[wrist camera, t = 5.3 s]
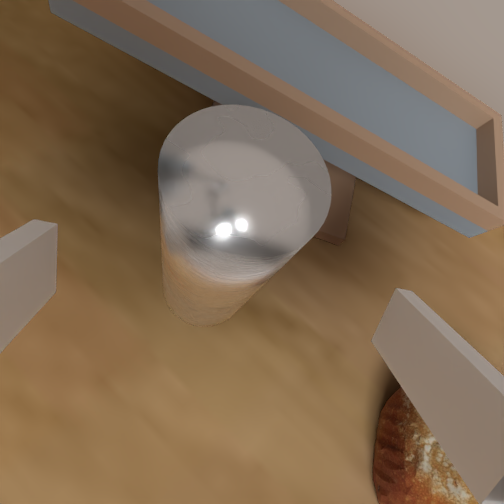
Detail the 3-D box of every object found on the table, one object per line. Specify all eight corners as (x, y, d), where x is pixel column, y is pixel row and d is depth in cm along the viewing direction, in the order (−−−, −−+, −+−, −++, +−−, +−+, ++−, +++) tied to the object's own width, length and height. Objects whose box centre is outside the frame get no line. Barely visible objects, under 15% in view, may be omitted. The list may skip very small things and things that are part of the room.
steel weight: (149, 310, 19) (125, 216, 8) (180, 236, 21) (195, 80, 10) (231, 337, 19) (314, 284, 8) (253, 263, 21) (343, 142, 10)
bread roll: (470, 452, 24) (588, 418, 19) (501, 657, 16) (717, 693, 11) (360, 375, 24) (447, 321, 19) (336, 542, 16) (477, 526, 11)
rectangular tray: (41, 37, 15) (25, -34, 12) (139, -73, 19) (143, -142, 17) (460, 254, 21) (509, 238, 18) (461, 132, 26) (500, 105, 23)
